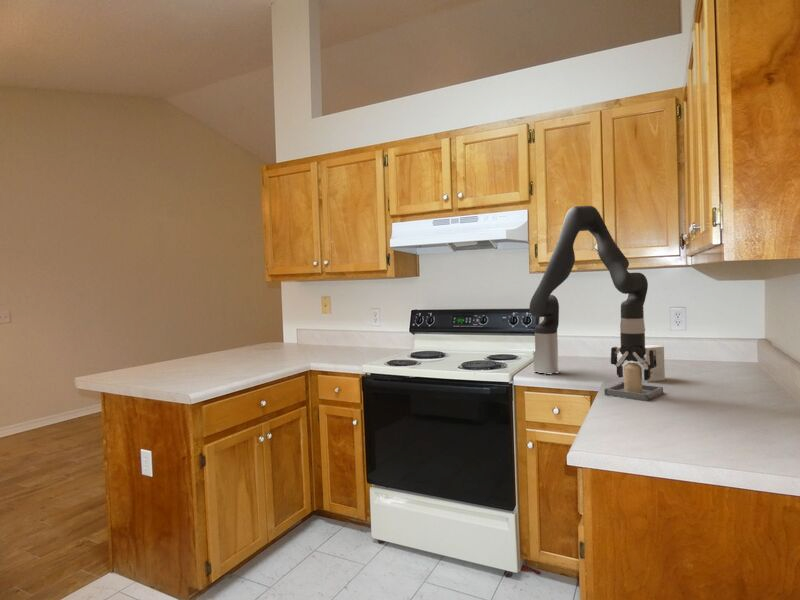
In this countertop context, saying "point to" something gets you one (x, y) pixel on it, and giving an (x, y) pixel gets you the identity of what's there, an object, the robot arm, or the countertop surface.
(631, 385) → the candle
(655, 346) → the small box
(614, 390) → the rest tray
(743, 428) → the countertop surface
